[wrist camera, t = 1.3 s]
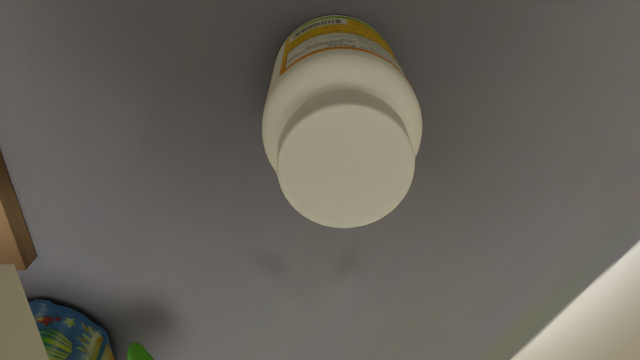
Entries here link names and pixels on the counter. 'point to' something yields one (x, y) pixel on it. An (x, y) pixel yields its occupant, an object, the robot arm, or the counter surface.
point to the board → (13, 227)
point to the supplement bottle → (341, 123)
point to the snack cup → (75, 335)
